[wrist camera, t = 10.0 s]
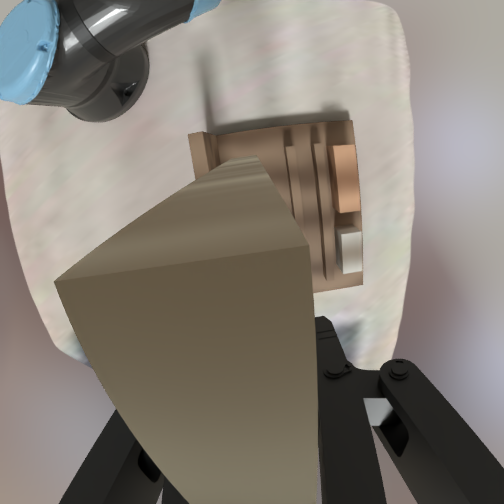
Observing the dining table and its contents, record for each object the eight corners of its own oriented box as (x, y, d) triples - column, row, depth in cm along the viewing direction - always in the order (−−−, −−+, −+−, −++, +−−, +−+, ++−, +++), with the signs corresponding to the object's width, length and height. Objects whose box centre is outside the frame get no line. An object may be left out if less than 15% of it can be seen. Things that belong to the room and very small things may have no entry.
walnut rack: (207, 137, 41) (187, 134, 28) (349, 121, 40) (387, 113, 27) (236, 299, 50) (232, 350, 37) (360, 280, 48) (390, 323, 36)
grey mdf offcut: (334, 226, 44) (341, 234, 40) (352, 224, 44) (361, 231, 40) (336, 263, 46) (343, 274, 42) (354, 260, 46) (362, 270, 42)
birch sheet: (231, 158, 19) (54, 281, 2) (256, 154, 18) (308, 246, 2) (261, 341, 23) (272, 575, 6) (281, 338, 23) (310, 571, 6)
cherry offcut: (325, 145, 40) (333, 146, 36) (345, 144, 40) (354, 144, 36) (332, 207, 43) (339, 213, 39) (351, 204, 43) (360, 210, 39)
